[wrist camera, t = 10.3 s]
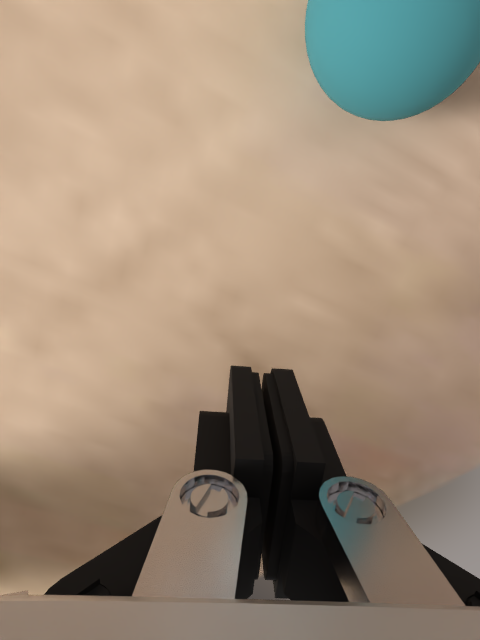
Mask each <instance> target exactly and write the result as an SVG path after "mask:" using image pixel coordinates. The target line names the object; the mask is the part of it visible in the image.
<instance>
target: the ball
mask: <svg viewBox="0 0 480 640" xmlns="http://www.w3.org/2000/svg"><path fill="white" fill-rule="evenodd" d="M305 40H306V47H307V54H308V58H309V61H310V65H311V68H312V70H313V73H314V75H315V77H316V79H317V81H318V83H319V84H320V86H321V88H322V89H323V90H324V92H325V93H326V94H327V95H328V97H329V98H330V99H331V100H332V101H334V102H335V103H336V104H337V105H338V106H339V107H341V108H342V109H344V110H345V111H347V112H349V113H351V114H353V115H356V116H358V117H361V118H365V119H369V120H377V121H391V120H399V119H404V118H408V117H411V116H414V115H417V114H419V113H422V112H424V111H426V110H428V109H430V108H432V107H433V106H435V105H437V104H438V103H440V102H442V101H443V100H444V99H445V98H447V97H448V96H449V95H451V94H452V93H453V92H454V91H455V90H456V89H457V88H458V87H460V86H461V85H462V84H463V83H464V81H465V80H466V79H467V78H468V77H469V76H470V74H471V73H472V72H473V71H474V69H475V68H476V67H477V65H478V64H479V62H480V0H308V5H307V10H306V20H305Z"/></svg>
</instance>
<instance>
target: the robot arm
mask: <svg viewBox="0 0 480 640" xmlns="http://www.w3.org/2000/svg"><path fill="white" fill-rule="evenodd" d="M261 554H262V560H263V570H264V577H265V580H273V584H274V592H275V598H289V599H290V600H258V599H247V598H248V597H250V596H251V595H252V594H253V586H254V579H258V576H259V569H260V562H261ZM0 640H480V579H479V578H477V577H475V576H474V575H472V574H471V573H469V572H467V571H465V570H464V569H462V568H461V567H459V566H457V565H456V564H454V563H453V562H451V561H449V560H448V559H446V558H444V557H443V556H441V555H440V554H438V553H436V552H435V551H433V550H431V549H430V548H428V547H427V546H425V545H423V544H422V543H421V542H420V541H419V539H418V538H417V537H416V535H415V534H414V533H413V531H412V530H411V528H410V527H409V525H408V524H407V522H406V521H405V520H404V518H403V517H402V516H401V514H400V513H399V511H398V510H397V508H396V507H395V506H394V504H393V503H392V501H391V500H390V499H389V498H388V496H387V495H386V494H385V493H384V492H383V491H382V490H380V489H379V488H377V487H376V486H375V485H373V484H371V483H369V482H366V481H364V480H362V479H358V478H354V477H347V476H346V474H345V472H344V469H343V467H342V464H341V462H340V459H339V457H338V455H337V452H336V450H335V447H334V445H333V442H332V440H331V437H330V435H329V433H328V430H327V428H326V425H325V423H324V421H323V419H321V418H310V417H309V415H308V412H307V409H306V406H305V404H304V401H303V398H302V395H301V392H300V390H299V387H298V384H297V381H296V378H295V376H294V373H293V370H288V369H272V370H271V374H269V373H264V375H263V382H262V390H261V384H260V379H259V373H254V372H252V370H251V367H243V366H231V369H230V378H229V389H228V400H227V411H226V413H225V412H208V411H200V414H199V424H198V434H197V444H196V454H195V464H194V472H192V473H189V474H187V475H185V476H183V477H182V478H181V479H180V480H178V481H177V483H176V484H175V486H174V487H173V489H172V492H171V494H170V497H169V500H168V502H167V505H166V507H165V510H164V513H163V515H162V516H160V517H159V518H157V519H155V520H154V521H152V522H151V523H149V524H147V525H146V526H144V527H143V528H141V529H140V530H138V531H136V532H135V533H133V534H132V535H130V536H128V537H127V538H125V539H124V540H122V541H120V542H119V543H117V544H116V545H114V546H113V547H111V548H109V549H108V550H106V551H105V552H103V553H101V554H100V555H98V556H97V557H95V558H93V559H92V560H90V561H89V562H87V563H86V564H84V565H82V566H81V567H79V568H78V569H76V570H74V571H73V572H71V573H70V574H68V575H66V576H65V577H63V578H62V579H60V580H59V581H58V582H57V583H55V584H54V585H53V586H52V587H50V588H49V589H48V591H47V592H46V593H45V594H44V595H28V591H22V592H17V593H11V594H5V595H0Z"/></svg>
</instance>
